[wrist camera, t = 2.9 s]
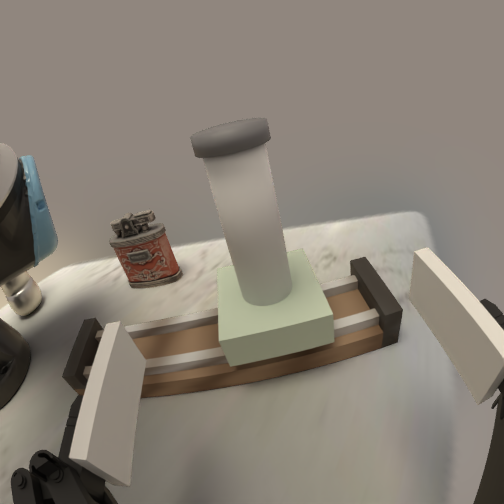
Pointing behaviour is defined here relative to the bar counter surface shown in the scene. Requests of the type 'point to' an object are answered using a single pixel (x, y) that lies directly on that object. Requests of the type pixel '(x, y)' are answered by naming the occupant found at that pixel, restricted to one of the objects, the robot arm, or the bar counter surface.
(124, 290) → the bar counter surface
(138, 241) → the lighter
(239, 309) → the carriage
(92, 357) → the rail track
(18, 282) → the plastic bottle
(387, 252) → the bar counter surface
